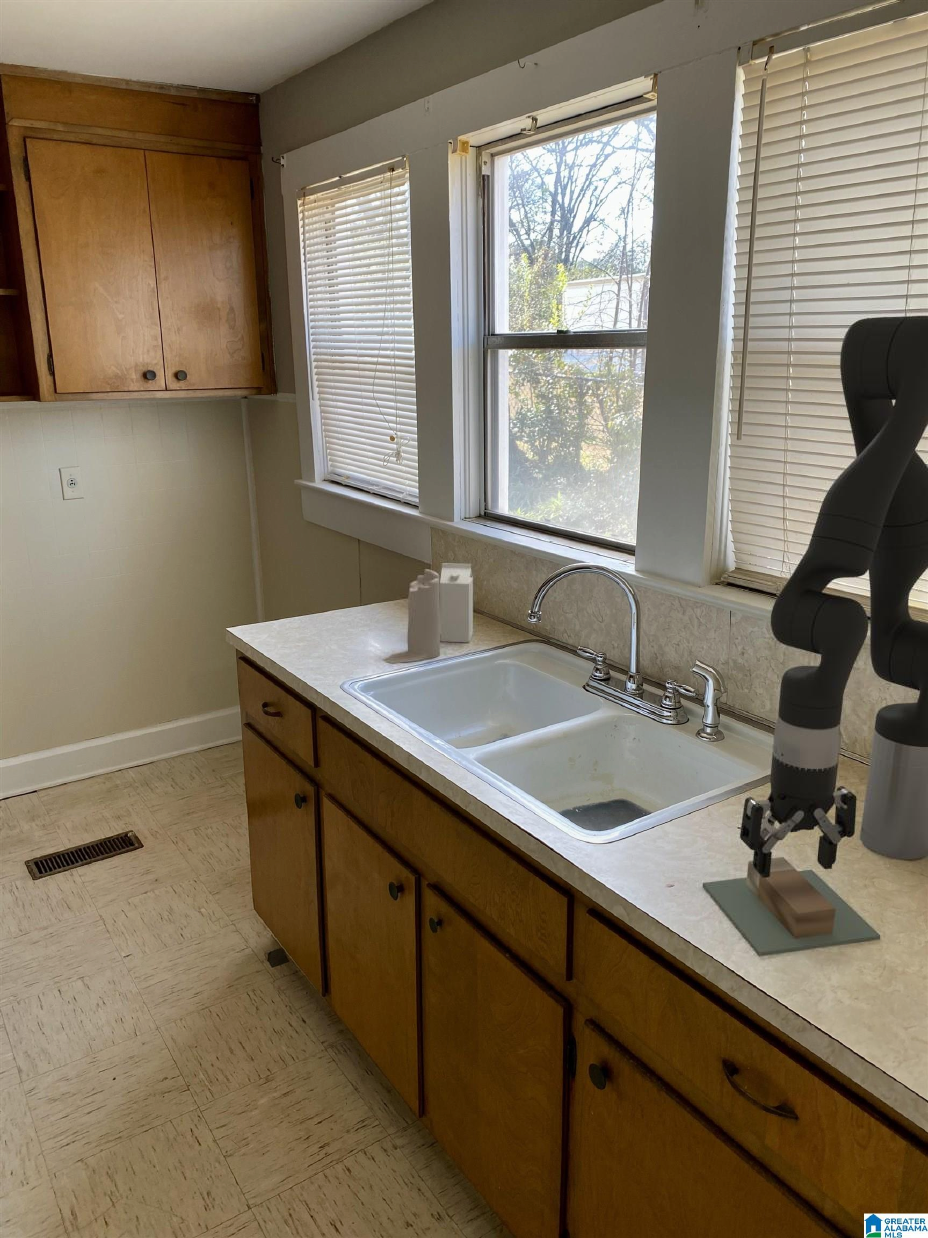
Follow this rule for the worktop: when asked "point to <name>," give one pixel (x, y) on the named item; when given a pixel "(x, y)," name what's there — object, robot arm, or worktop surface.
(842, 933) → the sage mat
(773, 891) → the stepped wooden block
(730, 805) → the worktop surface
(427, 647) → the candle
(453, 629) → the milk carton
